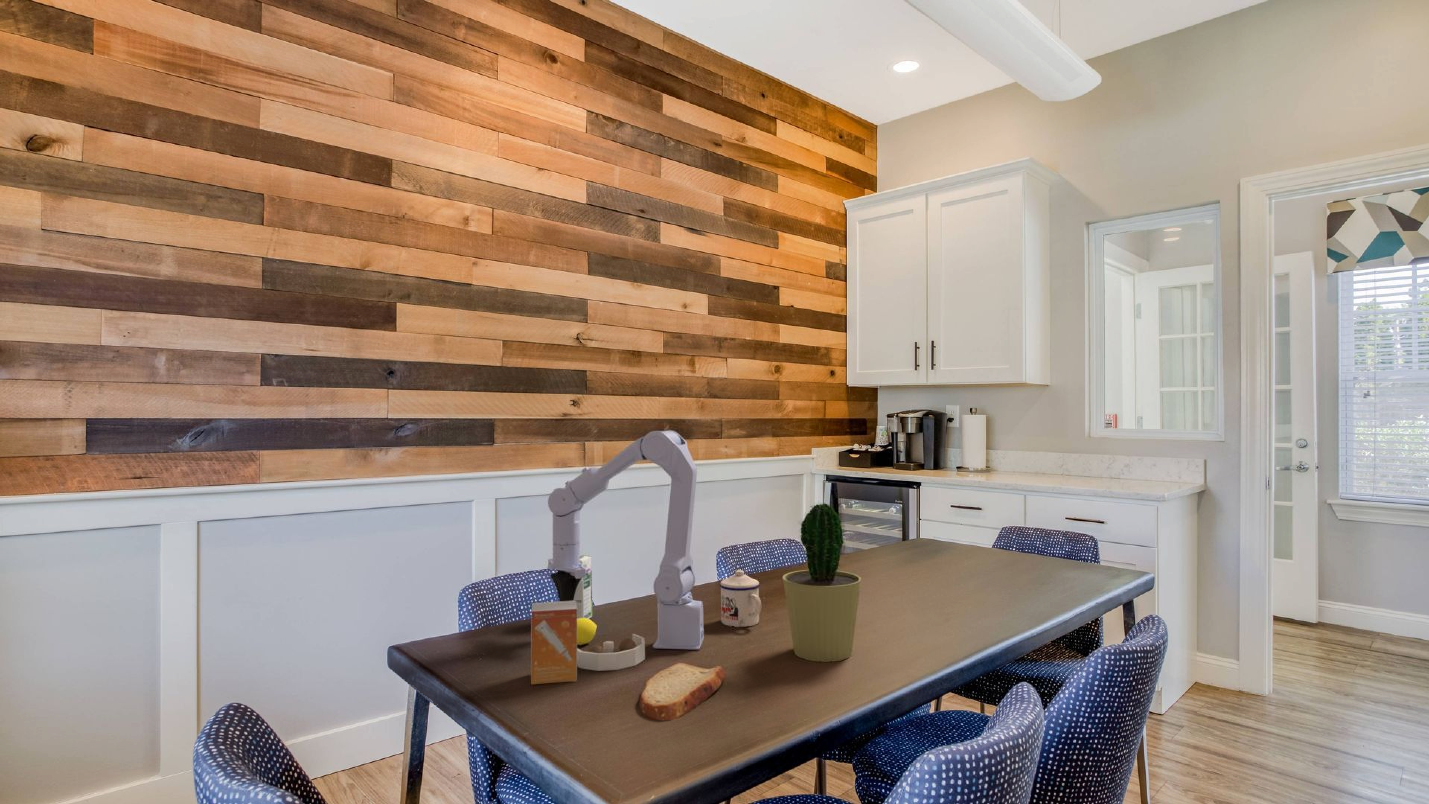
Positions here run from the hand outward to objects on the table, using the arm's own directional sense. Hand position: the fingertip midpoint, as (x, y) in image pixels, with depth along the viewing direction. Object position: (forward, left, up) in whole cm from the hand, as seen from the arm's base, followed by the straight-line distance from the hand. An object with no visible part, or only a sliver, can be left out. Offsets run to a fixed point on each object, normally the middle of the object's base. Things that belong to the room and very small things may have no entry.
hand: (566, 606), depth 158 cm
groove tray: (-13, +14, -6) cm, 20 cm away
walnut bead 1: (-11, +17, -6) cm, 21 cm away
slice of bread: (-31, +31, -7) cm, 44 cm away
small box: (-6, +25, -7) cm, 27 cm away
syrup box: (+2, -12, -7) cm, 14 cm away
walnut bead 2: (-16, +12, -6) cm, 21 cm away
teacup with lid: (-37, -12, -7) cm, 40 cm away
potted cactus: (-54, +7, -7) cm, 55 cm away
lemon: (-5, +5, -7) cm, 10 cm away
